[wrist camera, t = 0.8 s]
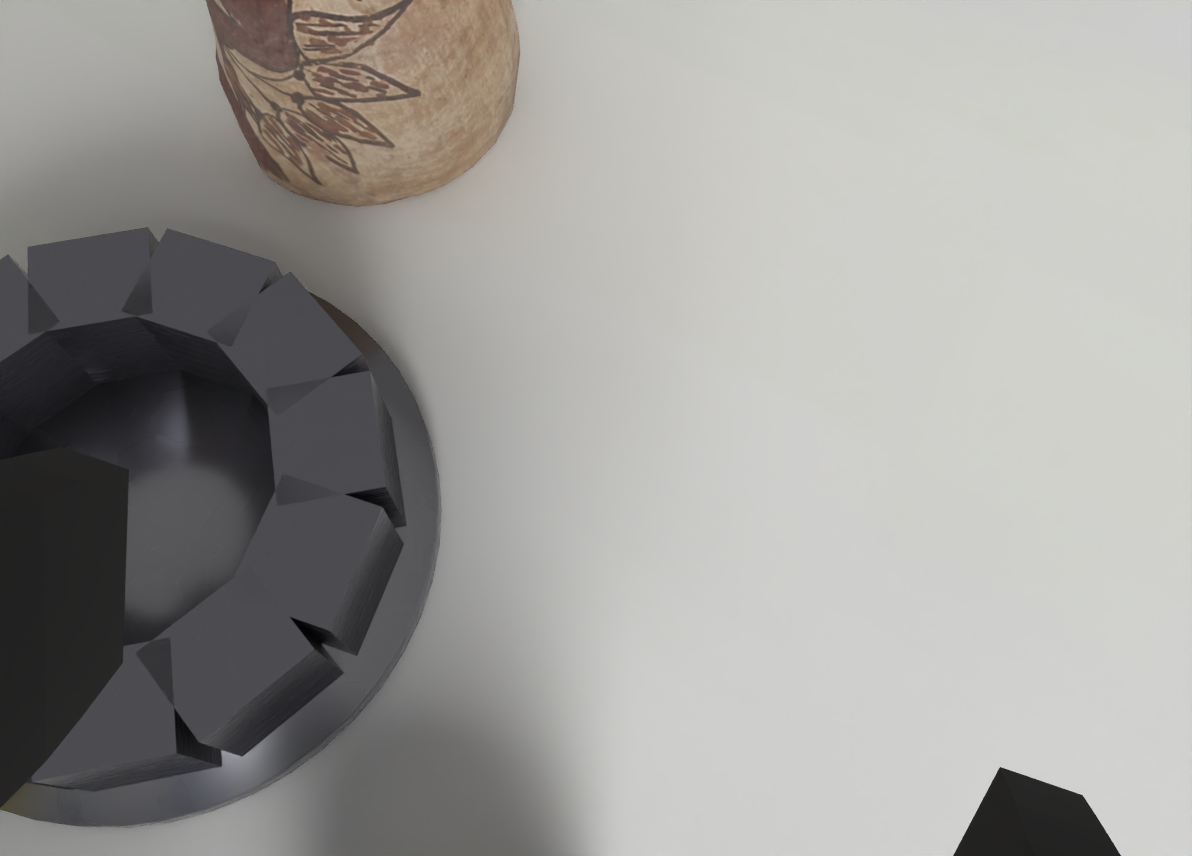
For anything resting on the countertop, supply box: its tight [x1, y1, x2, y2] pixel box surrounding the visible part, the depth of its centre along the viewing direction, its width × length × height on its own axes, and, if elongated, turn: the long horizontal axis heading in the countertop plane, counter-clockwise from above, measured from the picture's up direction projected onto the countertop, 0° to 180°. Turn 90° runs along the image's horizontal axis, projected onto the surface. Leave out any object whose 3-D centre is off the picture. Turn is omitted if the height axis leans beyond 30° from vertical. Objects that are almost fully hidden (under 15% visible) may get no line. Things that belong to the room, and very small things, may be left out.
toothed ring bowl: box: [0, 227, 441, 827], centre depth 22 cm, size 12×12×3 cm
